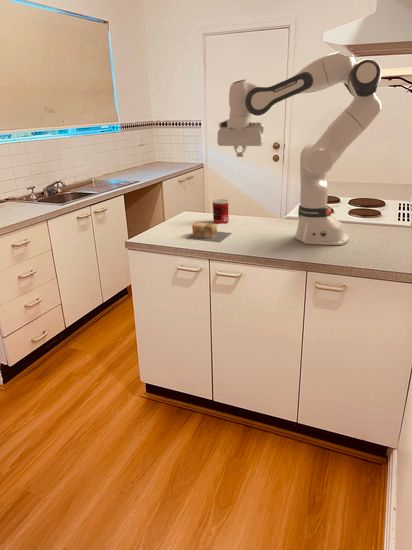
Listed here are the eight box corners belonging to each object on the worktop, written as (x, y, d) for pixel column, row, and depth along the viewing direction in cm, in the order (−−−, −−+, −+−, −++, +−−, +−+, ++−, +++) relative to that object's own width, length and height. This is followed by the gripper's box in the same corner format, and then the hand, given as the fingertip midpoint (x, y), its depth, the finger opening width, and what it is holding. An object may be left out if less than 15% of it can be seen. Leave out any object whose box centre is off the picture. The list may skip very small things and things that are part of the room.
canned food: (229, 220, 211) (228, 198, 206) (228, 224, 204) (227, 202, 199) (214, 220, 212) (213, 199, 207) (213, 224, 204) (212, 203, 200)
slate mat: (232, 234, 189) (232, 232, 189) (219, 243, 178) (219, 242, 177) (199, 230, 196) (199, 229, 196) (185, 239, 185) (185, 238, 185)
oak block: (216, 224, 186) (197, 222, 190) (212, 227, 182) (192, 225, 186) (217, 234, 188) (197, 232, 192) (212, 237, 184) (192, 235, 188)
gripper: (266, 121, 170) (265, 156, 176) (221, 122, 179) (222, 155, 184) (261, 122, 165) (260, 158, 170) (215, 123, 174) (216, 157, 179)
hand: (240, 156), depth 177 cm, fingers closed
